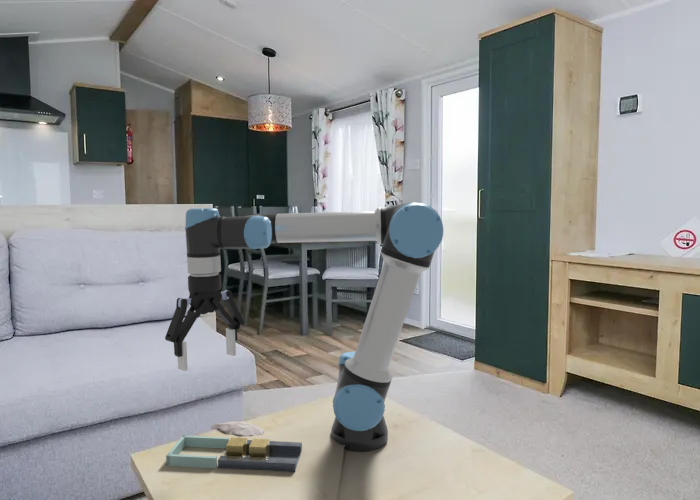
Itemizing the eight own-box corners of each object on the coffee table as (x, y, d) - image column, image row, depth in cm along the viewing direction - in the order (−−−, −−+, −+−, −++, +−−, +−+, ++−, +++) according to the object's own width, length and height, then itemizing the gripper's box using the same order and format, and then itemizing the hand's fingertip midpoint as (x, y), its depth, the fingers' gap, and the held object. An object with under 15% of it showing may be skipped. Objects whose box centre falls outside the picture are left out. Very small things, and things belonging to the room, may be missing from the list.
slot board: (301, 453, 125) (301, 442, 125) (294, 476, 116) (294, 463, 115) (230, 450, 127) (230, 439, 126) (218, 472, 117) (217, 459, 116)
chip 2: (269, 454, 123) (269, 439, 122) (265, 463, 119) (265, 447, 118) (253, 454, 123) (253, 438, 123) (249, 462, 119) (248, 446, 119)
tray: (228, 450, 127) (228, 437, 126) (215, 472, 117) (215, 458, 116) (183, 448, 127) (182, 435, 127) (166, 469, 117) (166, 455, 117)
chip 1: (247, 453, 123) (247, 438, 123) (242, 462, 119) (242, 446, 119) (231, 453, 123) (231, 437, 123) (226, 461, 119) (226, 445, 119)
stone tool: (205, 437, 134) (260, 445, 132) (205, 427, 133) (260, 434, 131) (217, 422, 141) (268, 429, 140) (217, 412, 141) (269, 419, 139)
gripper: (237, 266, 130) (239, 346, 132) (145, 279, 111) (151, 372, 113) (256, 269, 125) (258, 351, 127) (164, 283, 106) (169, 380, 108)
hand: (208, 361), depth 120 cm, fingers open, 13 cm apart
